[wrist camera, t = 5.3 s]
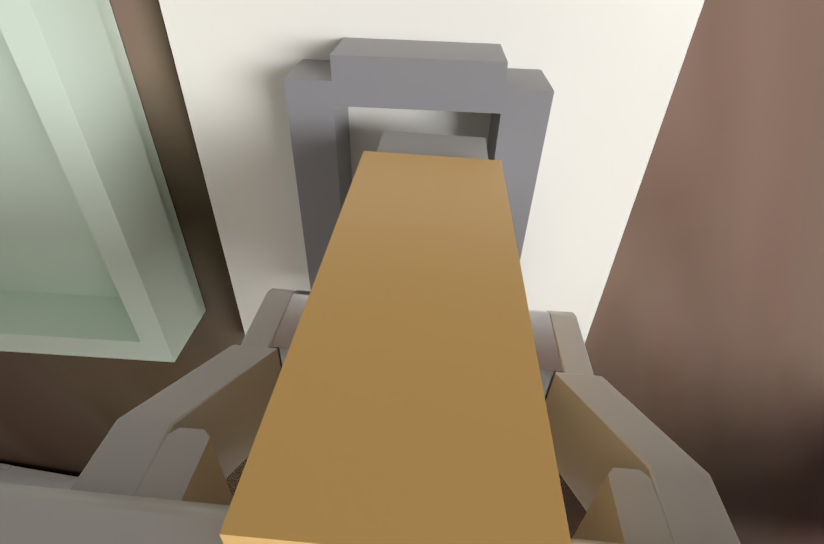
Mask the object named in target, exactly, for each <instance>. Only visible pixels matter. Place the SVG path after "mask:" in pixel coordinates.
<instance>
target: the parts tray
mask: <svg viewBox="0 0 824 544" xmlns="http://www.w3.org/2000/svg"><path fill="white" fill-rule="evenodd" d="M205 312H206V308H205V305H204V302H203V299H202V296H201V292H200V289H199V286H198V283H197V280H196V276H195V273H194V270H193V267H192V264H191V260H190V257H189V254H188V251H187V248H186V245H185V241H184V238H183V235H182V232H181V229H180V225H179V222H178V219H177V216H176V213H175V209H174V206H173V203H172V200H171V197H170V193H169V190H168V187H167V184H166V181H165V177H164V174H163V171H162V168H161V165H160V162H159V158H158V155H157V152H156V149H155V146H154V142H153V139H152V136H151V133H150V130H149V126H148V123H147V120H146V117H145V114H144V110H143V107H142V104H141V101H140V98H139V94H138V91H137V88H136V85H135V82H134V79H133V75H132V72H131V69H130V66H129V63H128V59H127V56H126V53H125V50H124V47H123V43H122V40H121V37H120V34H119V31H118V27H117V24H116V21H115V18H114V15H113V12H112V8H111V5H110V2H109V0H0V351H8V352H23V353H39V354H54V355H70V356H85V357H100V358H116V359H131V360H147V361H162V362H175V361H176V359H177V357H178V356H179V354H180V352H181V351H182V349H183V348H184V346H185V344H186V343H187V341H188V339H189V338H190V336H191V334H192V333H193V331H194V330H195V328H196V326H197V325H198V323H199V321H200V320H201V318H202V316H203V315H204V313H205Z"/></svg>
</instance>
